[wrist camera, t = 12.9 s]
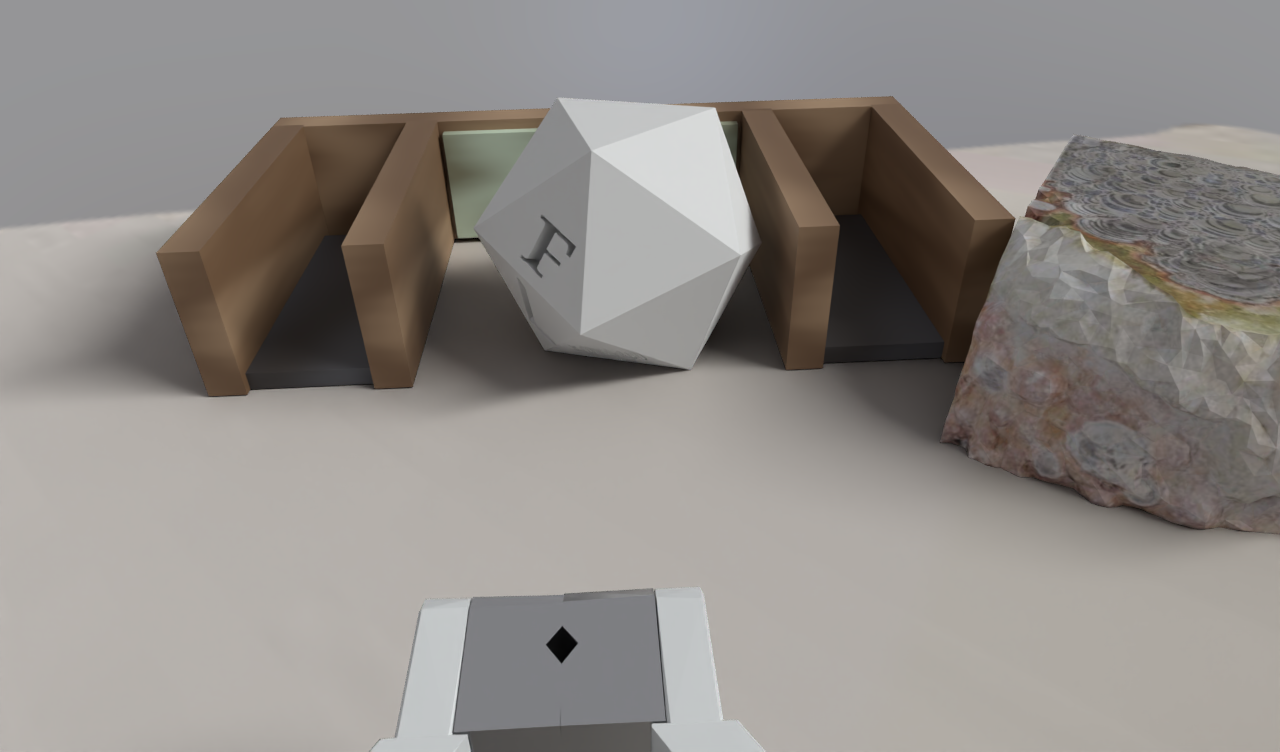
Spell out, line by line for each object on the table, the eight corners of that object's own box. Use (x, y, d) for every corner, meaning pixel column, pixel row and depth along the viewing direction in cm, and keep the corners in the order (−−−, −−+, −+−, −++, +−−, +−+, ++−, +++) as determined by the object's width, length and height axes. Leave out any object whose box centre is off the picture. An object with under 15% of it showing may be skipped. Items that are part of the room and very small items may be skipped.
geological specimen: (1434, 184, 28) (1539, 400, 17) (1345, 348, 31) (1383, 618, 20) (1077, 122, 32) (977, 260, 21) (1032, 271, 36) (925, 456, 25)
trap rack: (208, 396, 27) (155, 253, 25) (309, 232, 37) (280, 117, 35) (980, 360, 28) (1015, 218, 25) (876, 210, 38) (892, 96, 35)
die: (496, 305, 33) (384, 168, 24) (659, 159, 34) (608, -26, 25) (638, 452, 30) (571, 358, 21) (811, 288, 31) (816, 131, 22)
